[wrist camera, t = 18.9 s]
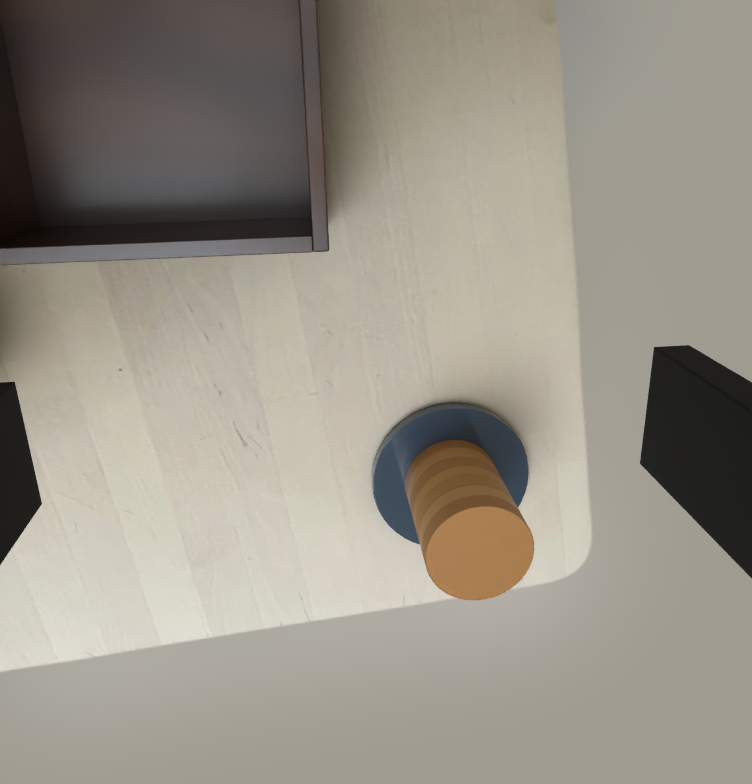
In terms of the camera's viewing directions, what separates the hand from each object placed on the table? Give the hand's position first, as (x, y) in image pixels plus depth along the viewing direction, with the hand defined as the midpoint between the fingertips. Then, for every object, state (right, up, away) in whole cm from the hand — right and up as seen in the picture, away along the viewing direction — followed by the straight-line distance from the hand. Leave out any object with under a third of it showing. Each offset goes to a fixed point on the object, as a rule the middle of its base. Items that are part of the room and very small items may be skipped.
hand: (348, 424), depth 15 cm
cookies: (+6, -6, +39) cm, 40 cm away
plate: (+6, -6, +40) cm, 41 cm away
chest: (-12, +20, +28) cm, 37 cm away
